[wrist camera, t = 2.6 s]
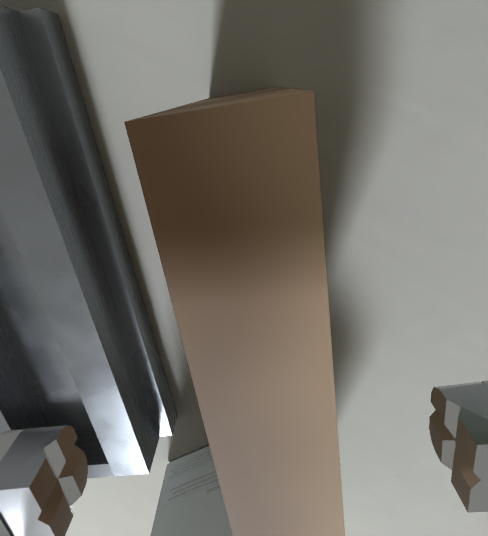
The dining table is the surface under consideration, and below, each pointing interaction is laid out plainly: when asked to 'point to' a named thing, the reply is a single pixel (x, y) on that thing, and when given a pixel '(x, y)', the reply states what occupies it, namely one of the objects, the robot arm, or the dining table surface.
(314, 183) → the door panel
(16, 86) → the tray
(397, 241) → the dining table surface
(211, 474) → the supplement box
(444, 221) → the dining table surface
